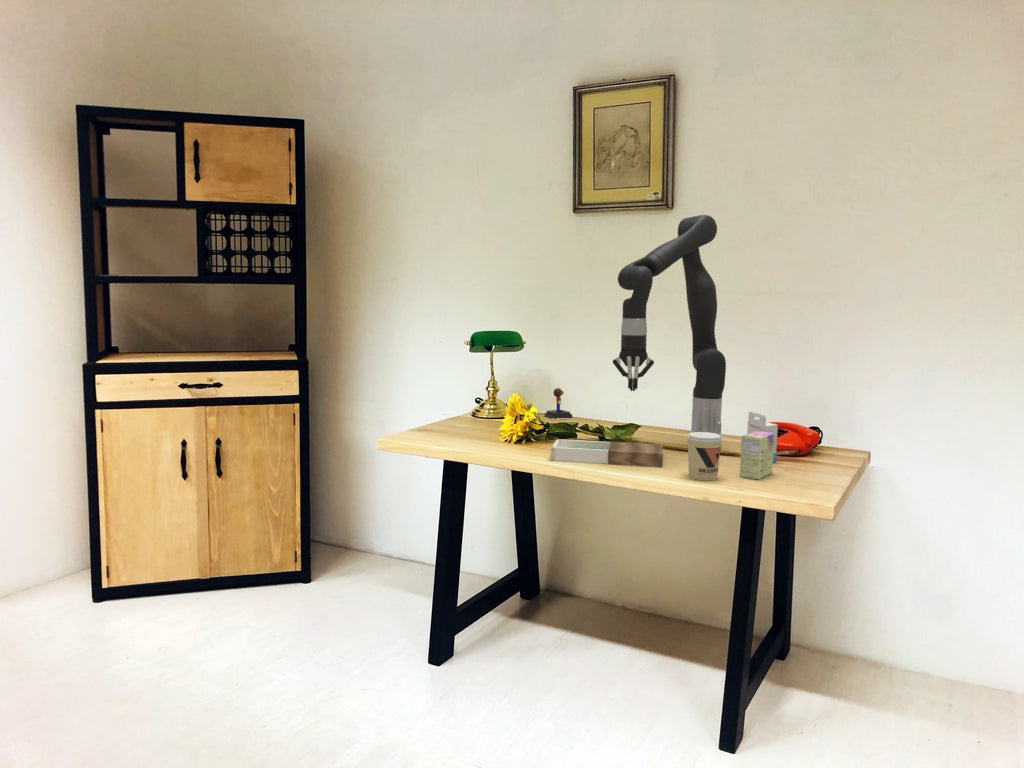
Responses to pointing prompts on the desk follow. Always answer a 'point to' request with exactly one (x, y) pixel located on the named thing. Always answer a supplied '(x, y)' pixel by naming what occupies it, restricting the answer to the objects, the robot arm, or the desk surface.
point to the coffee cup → (704, 455)
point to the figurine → (558, 407)
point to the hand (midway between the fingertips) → (632, 390)
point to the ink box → (762, 428)
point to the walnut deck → (635, 454)
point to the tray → (580, 451)
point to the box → (756, 454)
